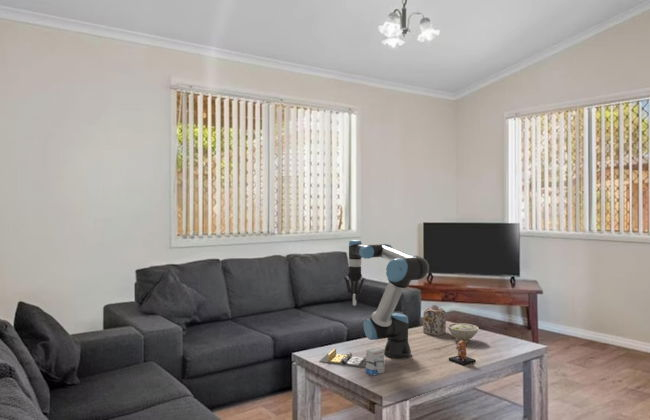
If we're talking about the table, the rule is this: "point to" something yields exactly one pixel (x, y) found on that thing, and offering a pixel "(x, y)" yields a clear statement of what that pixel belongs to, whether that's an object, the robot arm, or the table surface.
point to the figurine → (462, 355)
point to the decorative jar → (434, 320)
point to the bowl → (462, 331)
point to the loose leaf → (335, 357)
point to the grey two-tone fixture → (325, 360)
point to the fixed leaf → (352, 360)
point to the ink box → (374, 361)
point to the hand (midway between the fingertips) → (354, 304)
